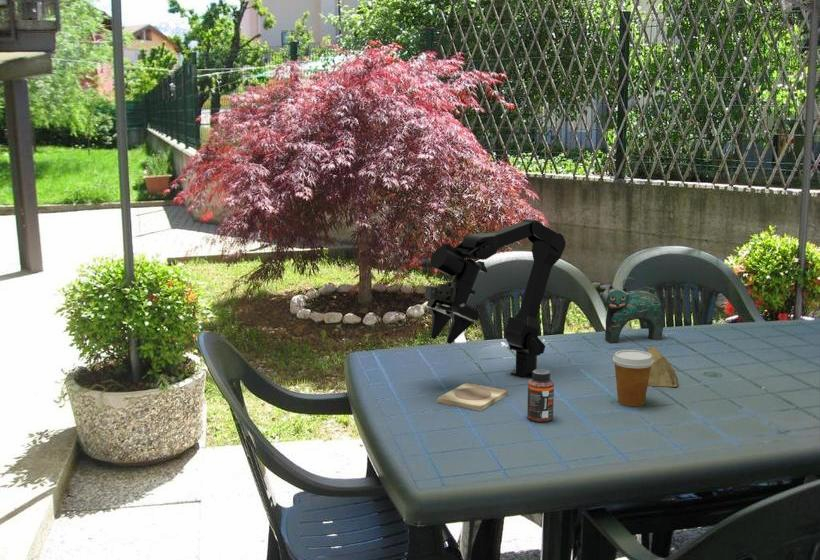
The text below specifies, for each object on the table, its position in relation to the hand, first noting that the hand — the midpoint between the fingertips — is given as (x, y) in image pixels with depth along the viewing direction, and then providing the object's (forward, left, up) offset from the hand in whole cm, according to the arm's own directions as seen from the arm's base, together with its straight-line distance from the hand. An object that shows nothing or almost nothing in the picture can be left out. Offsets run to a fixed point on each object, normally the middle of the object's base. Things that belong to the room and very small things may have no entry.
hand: (440, 340), depth 216 cm
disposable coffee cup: (-19, +43, -14) cm, 49 cm away
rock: (-36, +44, -14) cm, 58 cm away
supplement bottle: (+3, +29, -14) cm, 32 cm away
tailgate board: (-1, +9, -14) cm, 16 cm away
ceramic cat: (-76, +23, -14) cm, 81 cm away
